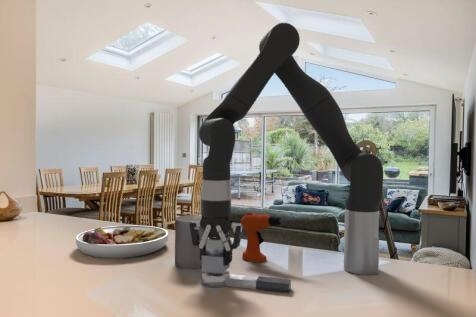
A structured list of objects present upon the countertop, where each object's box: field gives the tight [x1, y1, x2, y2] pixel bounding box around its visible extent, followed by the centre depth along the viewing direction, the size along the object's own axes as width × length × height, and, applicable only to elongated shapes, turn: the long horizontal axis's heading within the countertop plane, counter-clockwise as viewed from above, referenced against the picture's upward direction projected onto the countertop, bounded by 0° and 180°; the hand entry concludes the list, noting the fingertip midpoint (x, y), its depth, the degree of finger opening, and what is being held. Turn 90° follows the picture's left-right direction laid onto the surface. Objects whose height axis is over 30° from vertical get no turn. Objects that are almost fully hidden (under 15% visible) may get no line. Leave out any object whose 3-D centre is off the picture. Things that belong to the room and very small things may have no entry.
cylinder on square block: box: [201, 237, 231, 273], centre depth 100 cm, size 6×6×8 cm
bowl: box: [75, 224, 169, 259], centre depth 133 cm, size 30×30×8 cm
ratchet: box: [201, 269, 292, 294], centre depth 98 cm, size 22×7×6 cm, turn 74°
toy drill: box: [240, 211, 297, 263], centre depth 118 cm, size 5×19×15 cm, turn 61°
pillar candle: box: [174, 213, 204, 269], centre depth 115 cm, size 10×10×15 cm
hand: (215, 263), depth 100 cm, fingers closed on cylinder on square block, 5 cm apart
